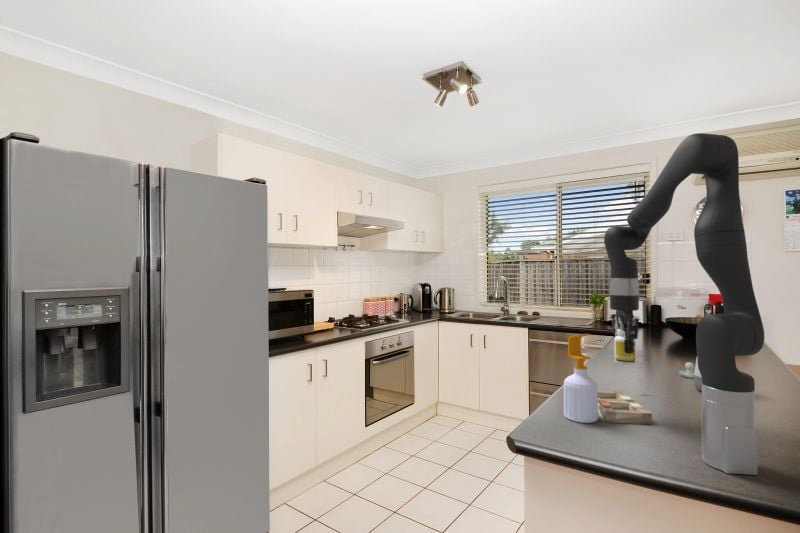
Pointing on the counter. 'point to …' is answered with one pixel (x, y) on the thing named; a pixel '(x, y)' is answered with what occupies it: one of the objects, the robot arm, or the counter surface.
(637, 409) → the socket block
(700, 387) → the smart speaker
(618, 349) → the supplement bottle
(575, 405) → the soap bottle
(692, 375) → the pacifier
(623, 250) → the robot arm
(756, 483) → the counter surface
